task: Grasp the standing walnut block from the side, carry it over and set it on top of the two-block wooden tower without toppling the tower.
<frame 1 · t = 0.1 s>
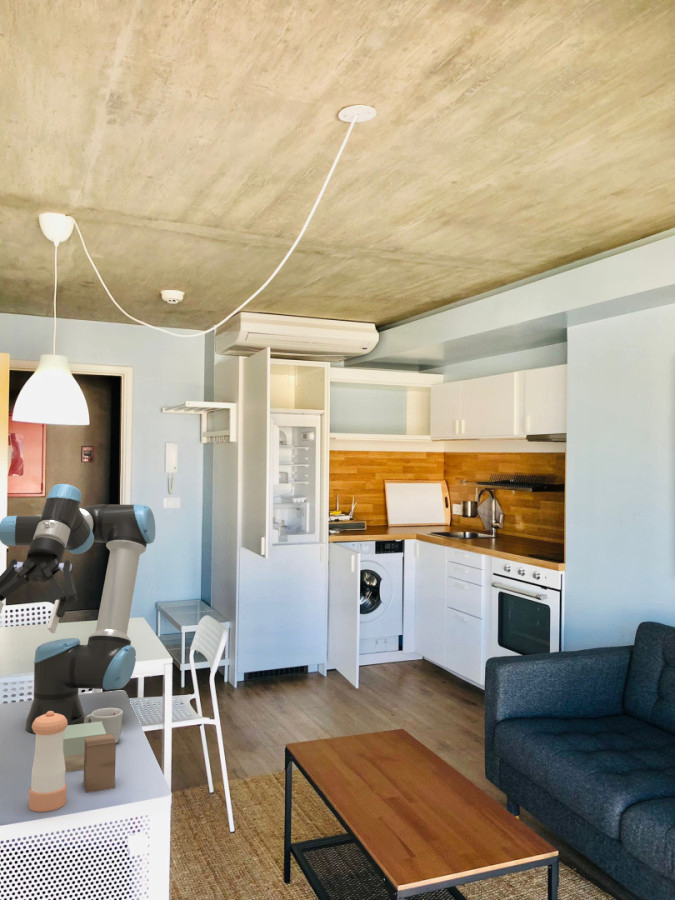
hand: (20, 629, 158), 36 cm above the table, tool tilted 35°, fingers open, 13 cm apart
tower bottom block: (82, 763, 178), on the table, touching tower top block
pepper shaker: (47, 805, 154), on the table
walnut block: (98, 785, 164), on the table
cup: (101, 743, 191), on the table
tower top block: (81, 746, 178), point 4 cm above the table, touching tower bottom block
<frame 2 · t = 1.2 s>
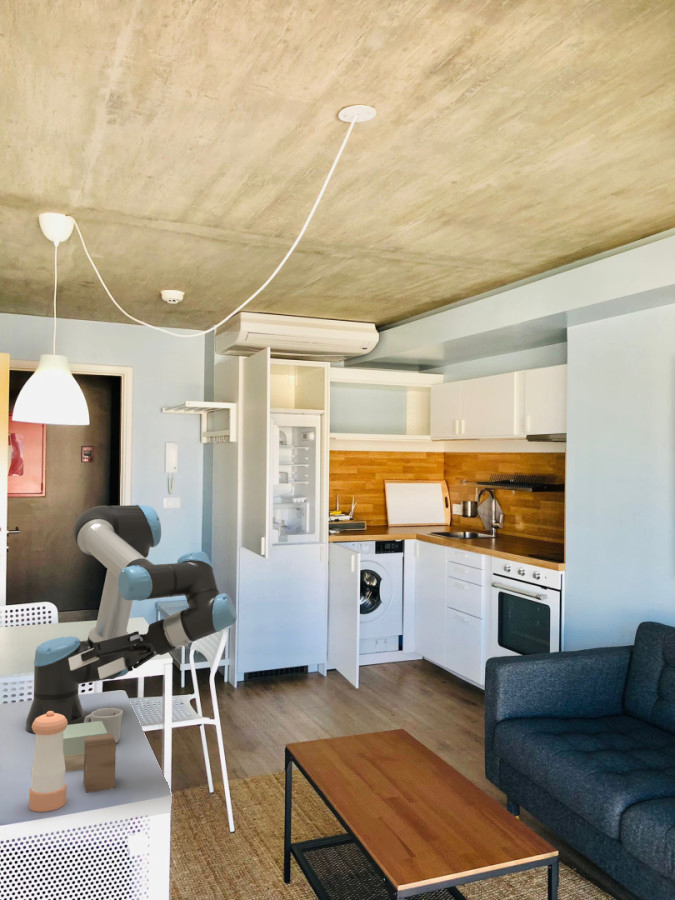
hand: (85, 669, 169), 25 cm above the table, tool tilted 65°, fingers open, 13 cm apart
nothing on the table moved.
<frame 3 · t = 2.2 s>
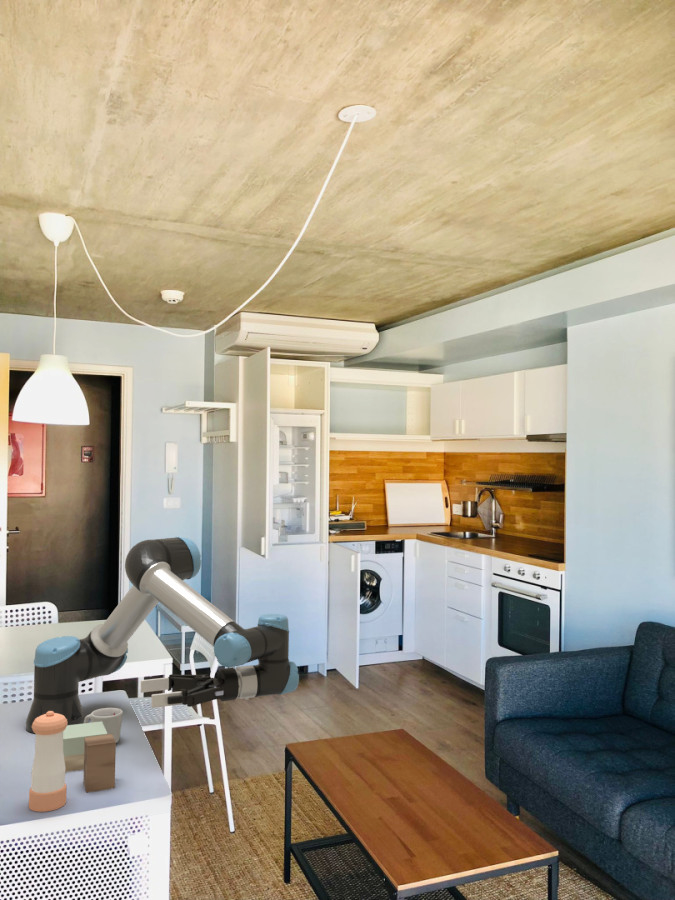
hand: (146, 693, 169), 19 cm above the table, tool horizontal, fingers open, 13 cm apart
nothing on the table moved.
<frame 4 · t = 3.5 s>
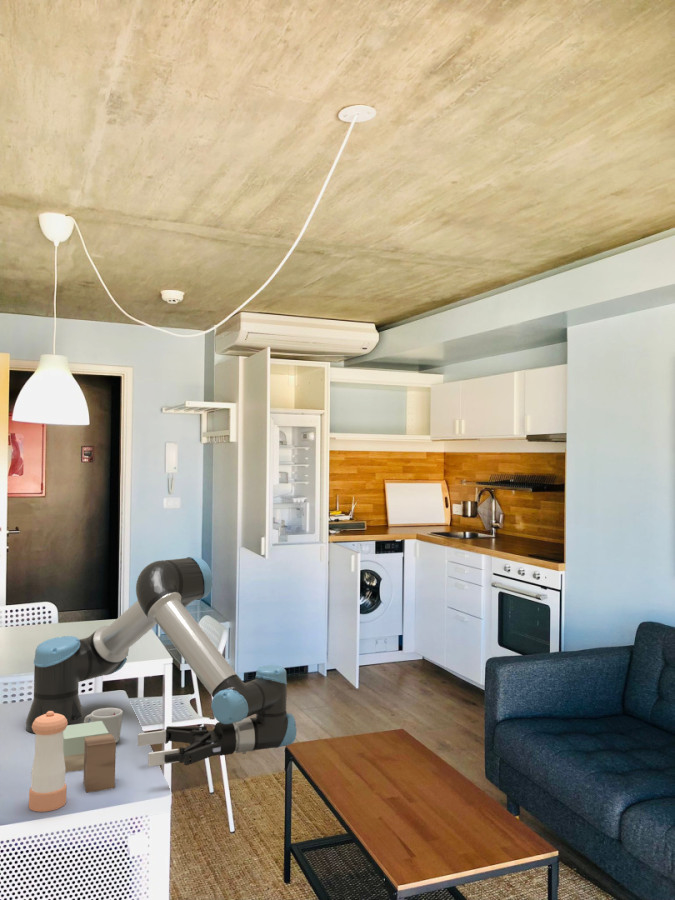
hand: (143, 749, 169), 6 cm above the table, tool horizontal, fingers open, 13 cm apart
nothing on the table moved.
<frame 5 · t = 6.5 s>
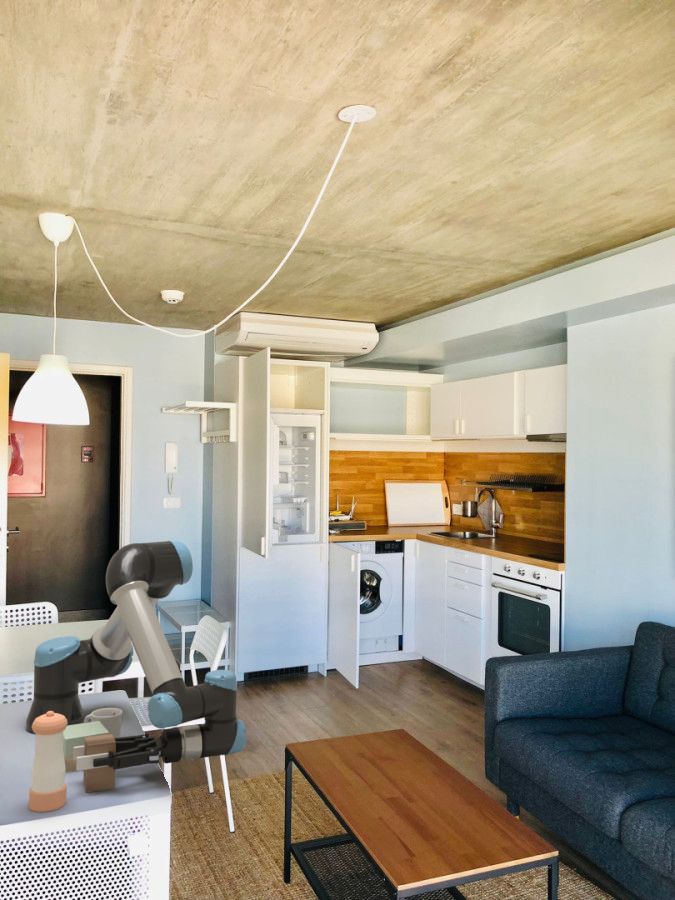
hand: (75, 758, 162), 7 cm above the table, tool horizontal, fingers closed on walnut block, 6 cm apart
walnut block: (98, 785, 164), on the table, touching gripper
everything else where it was.
when the fingers open (16 cm above the table, at t = 11.2 s): walnut block drops 2 cm, resting on tower top block.
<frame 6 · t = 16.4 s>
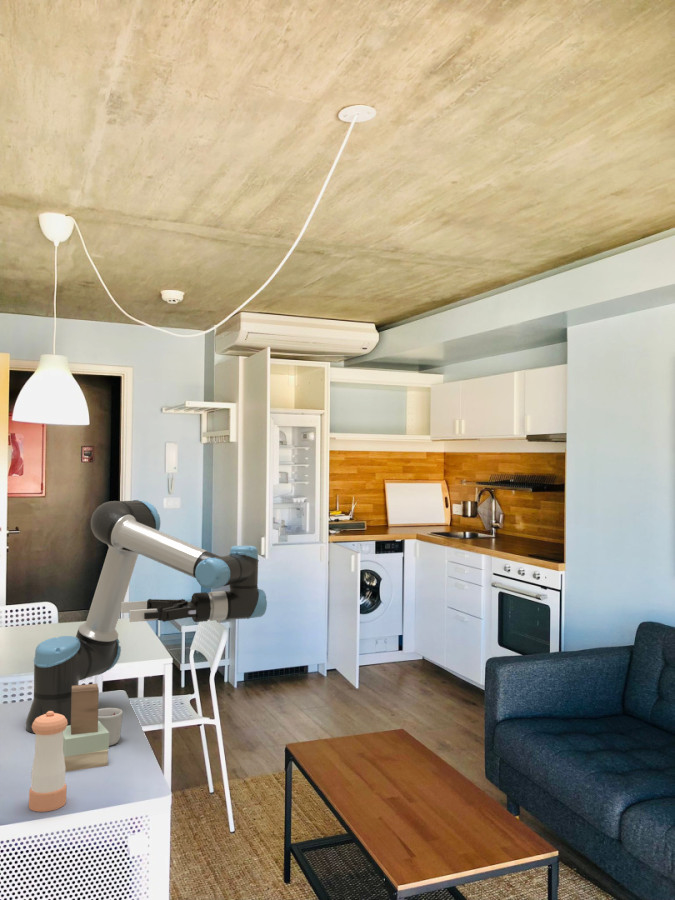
hand: (125, 611, 186), 35 cm above the table, tool horizontal, fingers open, 13 cm apart
walnut block: (84, 729, 179), point 7 cm above the table, touching tower top block
tower top block: (82, 746, 179), point 3 cm above the table, touching tower bottom block, walnut block
everything else where it was.
at the end: walnut block inside the target area on the tower top block (0.3 cm from its centre), point 4.0 cm above the tower top block's base; walnut block tilted 0°; tower top block tilted 0° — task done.
